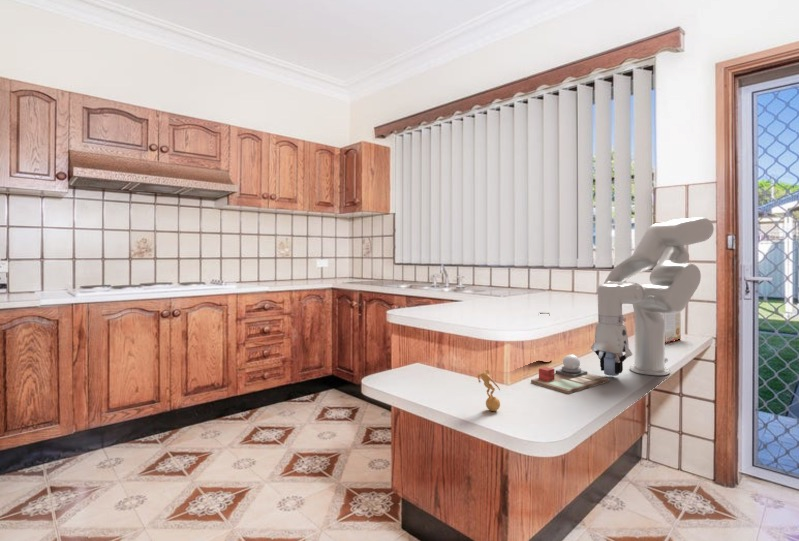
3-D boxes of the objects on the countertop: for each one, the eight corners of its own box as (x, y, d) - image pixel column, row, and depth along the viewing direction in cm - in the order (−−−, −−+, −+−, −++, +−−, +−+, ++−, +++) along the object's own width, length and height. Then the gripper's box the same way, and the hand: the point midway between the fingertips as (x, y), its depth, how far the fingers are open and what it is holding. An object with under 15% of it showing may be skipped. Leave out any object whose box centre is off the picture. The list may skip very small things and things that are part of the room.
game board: (570, 371, 158) (570, 359, 158) (608, 381, 146) (608, 367, 146) (530, 382, 146) (530, 369, 146) (568, 394, 134) (568, 379, 134)
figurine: (508, 413, 119) (508, 370, 118) (492, 418, 116) (492, 374, 115) (488, 404, 126) (487, 364, 125) (472, 409, 123) (471, 367, 122)
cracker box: (668, 338, 213) (668, 296, 213) (681, 340, 208) (681, 297, 207) (651, 341, 207) (652, 298, 206) (664, 343, 201) (665, 299, 200)
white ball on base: (568, 366, 157) (568, 351, 157) (585, 370, 151) (585, 355, 151) (557, 369, 153) (557, 354, 153) (573, 373, 148) (573, 357, 148)
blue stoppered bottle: (608, 371, 154) (608, 348, 153) (621, 373, 150) (621, 350, 149) (601, 373, 151) (600, 350, 151) (614, 376, 147) (613, 353, 147)
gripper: (640, 321, 144) (641, 374, 145) (593, 315, 158) (595, 364, 159) (628, 324, 140) (629, 379, 141) (581, 318, 154) (582, 368, 155)
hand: (611, 370), depth 150 cm, fingers closed on blue stoppered bottle, 4 cm apart
